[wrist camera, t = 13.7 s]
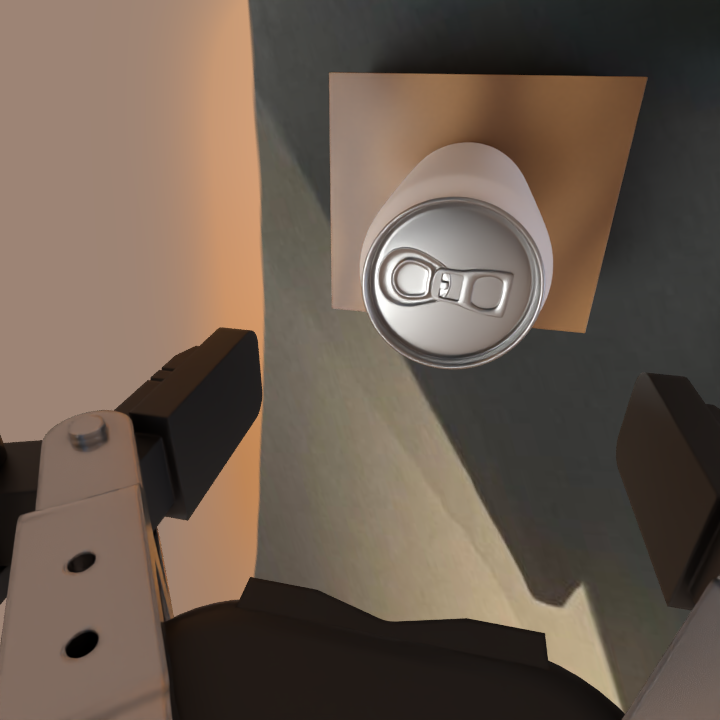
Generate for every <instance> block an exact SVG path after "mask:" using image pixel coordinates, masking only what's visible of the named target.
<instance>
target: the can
mask: <svg viewBox="0 0 720 720" xmlns="http://www.w3.org/2000/svg"><path fill="white" fill-rule="evenodd" d="M552 275H553V253H552V247H551V242H550V238H549V235H548V232H547V229H546V226H545V223H544V221H543V218H542V216H541V214H540V211H539V209H538V207H537V204H536V202H535V200H534V197H533V195H532V193H531V191H530V188H529V186H528V184H527V182H526V180H525V178H524V176H523V174H522V173H521V171H520V170H519V168H518V167H517V165H516V164H515V163H514V162H513V161H512V160H511V159H510V158H509V157H508V156H506V155H505V154H504V153H502V152H501V151H499V150H497V149H495V148H493V147H491V146H488V145H484V144H480V143H473V142H463V143H455V144H451V145H448V146H445V147H442V148H440V149H438V150H436V151H434V152H432V153H431V154H429V155H428V156H426V157H425V158H424V159H423V160H422V161H421V162H420V163H418V165H417V166H416V167H415V168H414V169H413V170H412V171H411V172H410V173H409V175H408V176H407V177H406V178H405V179H404V181H403V182H402V183H401V184H400V185H399V187H398V188H397V189H396V190H395V192H394V193H393V194H392V195H391V196H390V198H389V199H388V200H387V201H386V203H385V204H384V205H383V207H382V208H381V209H380V211H379V212H378V214H377V215H376V217H375V218H374V220H373V222H372V224H371V225H370V227H369V230H368V232H367V234H366V237H365V240H364V243H363V247H362V251H361V258H360V279H361V285H362V295H363V300H364V305H365V308H366V311H367V314H368V316H369V318H370V320H371V322H372V324H373V326H374V327H375V329H376V330H377V332H378V333H379V335H380V336H381V337H382V338H383V339H384V340H385V341H386V342H387V343H388V344H389V345H390V346H391V347H392V348H393V349H395V350H396V351H397V352H399V353H400V354H402V355H403V356H405V357H407V358H409V359H411V360H413V361H415V362H417V363H420V364H423V365H426V366H430V367H435V368H441V369H465V368H471V367H476V366H480V365H483V364H486V363H488V362H491V361H493V360H495V359H497V358H499V357H501V356H503V355H504V354H506V353H507V352H509V351H510V350H511V349H513V348H514V347H515V346H516V345H517V344H518V343H519V342H520V341H521V340H522V339H523V338H524V337H525V336H526V335H527V334H528V332H529V331H530V329H531V328H532V326H533V325H534V323H535V321H536V319H537V317H538V315H539V313H540V311H541V309H542V307H543V305H544V303H545V301H546V299H547V296H548V293H549V290H550V286H551V282H552Z"/></svg>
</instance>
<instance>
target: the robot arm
mask: <svg viewBox="0 0 720 720" xmlns="http://www.w3.org/2000/svg"><path fill="white" fill-rule="evenodd" d="M258 350H259V349H258V340H257V336H256V334H255V332H253V331H250V330H241V329H231V328H219V329H217V330H216V331H215V332H214V333H213V334H212V335H211V336H210V337H209V338H208V339H206V340H205V341H204V342H203V344H201V345H200V346H195V347H192V348H190V349H188V350H186V351H184V352H182V353H180V354H178V355H176V356H174V357H173V358H172V359H171V360H170V361H169V362H168V363H166V364H165V365H164V366H163V367H162V370H159V371H158V372H156V373H155V374H154V375H153V376H152V377H151V380H147V382H145V383H144V384H143V385H142V386H141V387H140V388H138V389H137V390H136V391H135V392H134V393H133V394H132V395H131V396H130V397H129V398H127V399H126V400H125V401H124V402H123V403H122V404H121V405H119V406H118V407H117V408H116V409H115V410H114V411H111V410H99V411H91V412H86V413H82V414H79V415H77V416H73V417H71V418H68V419H66V420H64V421H62V422H61V423H59V424H57V425H56V426H54V427H53V428H52V429H51V430H50V431H49V432H48V433H47V434H46V435H45V437H44V439H43V440H40V441H26V442H12V443H3V441H2V438H1V435H0V604H1V603H2V602H3V601H4V600H5V598H6V597H7V600H6V607H5V615H4V623H3V629H2V637H1V645H0V720H720V409H719V408H717V407H716V406H714V405H710V404H705V402H704V401H703V400H702V398H701V397H700V395H699V394H698V393H697V391H696V390H695V388H694V387H693V385H692V384H691V383H690V381H689V380H688V379H687V378H686V377H682V376H673V375H663V374H654V373H641V374H640V375H639V376H638V378H637V380H636V382H635V385H634V388H633V391H632V394H631V398H630V401H629V404H628V407H627V410H626V414H625V417H624V420H623V423H622V426H621V430H620V433H619V436H618V440H617V447H616V460H617V466H618V470H619V472H620V475H621V478H622V481H623V483H624V486H625V489H626V492H627V495H628V497H629V500H630V503H631V506H632V509H633V511H634V514H635V517H636V520H637V523H638V525H639V528H640V531H641V534H642V536H643V539H644V542H645V545H646V548H647V550H648V553H649V556H650V559H651V562H652V564H653V567H654V570H655V573H656V576H657V578H658V581H659V584H660V587H661V590H662V592H663V595H664V598H665V601H666V603H667V606H669V607H675V608H681V609H686V610H692V611H691V613H690V614H689V616H688V617H687V619H686V620H685V622H684V623H683V625H682V627H681V628H680V630H679V631H678V633H677V634H676V636H675V637H674V639H673V641H672V642H671V644H670V645H669V647H668V648H667V650H666V651H665V653H664V655H663V656H662V658H661V659H660V661H659V662H658V664H657V665H656V667H655V669H654V670H653V672H652V673H651V675H650V676H649V678H648V680H647V681H646V683H645V684H644V686H643V687H642V689H641V690H640V692H639V694H638V695H637V697H636V698H635V700H634V701H633V703H632V704H631V706H630V708H629V709H628V711H627V712H626V714H624V713H623V712H622V711H621V710H620V709H619V708H618V707H617V706H616V705H615V704H614V703H613V702H612V701H610V700H609V699H608V698H607V697H606V696H604V695H603V694H602V693H601V692H600V691H598V690H597V689H596V688H594V687H593V686H591V685H590V684H588V683H587V682H586V681H584V680H583V679H581V678H580V677H578V676H577V675H575V674H573V673H571V672H570V671H568V670H566V669H564V668H563V667H561V666H559V665H557V664H555V663H552V662H550V661H548V656H547V647H546V639H545V633H541V632H536V631H530V630H525V629H520V628H515V627H509V626H504V625H499V624H494V623H488V622H483V621H478V620H473V619H467V618H465V619H443V620H421V621H399V622H391V621H385V620H382V619H379V618H377V617H375V616H373V615H371V614H369V613H366V612H364V611H362V610H360V609H358V608H356V607H353V606H351V605H349V604H347V603H345V602H342V601H340V600H338V599H336V598H334V597H332V596H329V595H327V594H325V593H323V592H321V591H319V590H315V589H310V588H305V587H300V586H294V585H289V584H284V583H279V582H273V581H268V580H263V579H258V578H252V577H250V578H249V581H248V583H247V585H246V587H245V589H244V591H243V594H242V596H241V598H240V600H230V601H224V602H218V603H213V604H209V605H206V606H202V607H199V608H195V609H193V610H190V611H188V612H185V613H182V614H180V615H178V616H176V617H174V615H173V610H172V604H171V599H170V593H169V588H168V582H167V576H166V571H165V565H164V560H163V554H162V548H161V543H160V537H159V533H158V529H157V526H158V524H159V523H160V522H161V520H162V519H163V518H164V517H171V518H177V519H182V520H189V518H190V517H191V515H192V514H193V512H194V511H195V509H196V508H197V506H198V505H199V503H200V502H201V500H202V499H203V497H204V495H205V494H206V493H207V491H208V490H209V488H210V487H211V485H212V484H213V482H214V481H215V479H216V478H217V476H218V475H219V473H220V472H221V470H222V469H223V467H224V466H225V464H226V463H227V461H228V460H229V458H230V457H231V455H232V454H233V452H234V451H235V449H236V448H237V446H238V445H239V443H240V442H241V440H242V439H243V437H244V436H245V434H246V433H247V431H248V430H249V428H250V427H251V425H252V424H253V422H254V421H255V419H256V418H257V416H258V414H259V411H260V407H261V402H262V383H261V372H260V361H259V351H258Z"/></svg>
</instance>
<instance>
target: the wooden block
mask: <svg viewBox="0 0 720 720" xmlns="http://www.w3.org/2000/svg"><path fill="white" fill-rule="evenodd" d="M647 78H648V77H623V76H553V75H484V74H415V73H346V72H329V116H330V203H331V291H332V309H343V310H353V311H363V312H367V311H366V308H365V305H364V300H363V295H362V285H361V279H360V258H361V251H362V247H363V243H364V240H365V237H366V234H367V232H368V230H369V227H370V225H371V224H372V222H373V220H374V218H375V217H376V215H377V214H378V212H379V211H380V209H381V208H382V207H383V205H384V204H385V203H386V201H387V200H388V199H389V198H390V196H391V195H392V194H393V193H394V192H395V190H396V189H397V188H398V187H399V185H400V184H401V183H402V182H403V181H404V179H405V178H406V177H407V176H408V175H409V173H410V172H411V171H412V170H413V169H414V168H415V167H416V166H417V165H418V163H420V162H421V161H422V160H423V159H424V158H425V157H426V156H428V155H429V154H431V153H432V152H434V151H436V150H438V149H440V148H442V147H445V146H448V145H451V144H455V143H463V142H473V143H480V144H484V145H488V146H491V147H493V148H495V149H497V150H499V151H501V152H502V153H504V154H505V155H506V156H508V157H509V158H510V159H511V160H512V161H513V162H514V163H515V164H516V165H517V167H518V168H519V170H520V171H521V173H522V174H523V176H524V178H525V180H526V182H527V184H528V186H529V188H530V191H531V193H532V195H533V197H534V200H535V202H536V204H537V207H538V209H539V211H540V214H541V216H542V218H543V221H544V223H545V226H546V229H547V232H548V235H549V238H550V242H551V247H552V253H553V275H552V282H551V286H550V290H549V293H548V296H547V299H546V301H545V303H544V305H543V307H542V309H541V311H540V313H539V315H538V317H537V319H536V321H535V323H534V325H533V326H532V328H539V329H549V330H559V331H570V332H580V333H585V330H586V326H587V322H588V318H589V314H590V310H591V306H592V302H593V298H594V294H595V290H596V286H597V282H598V278H599V273H600V269H601V265H602V261H603V257H604V253H605V249H606V245H607V241H608V237H609V233H610V229H611V225H612V221H613V217H614V212H615V208H616V204H617V200H618V196H619V192H620V188H621V184H622V180H623V176H624V172H625V168H626V164H627V160H628V155H629V151H630V147H631V143H632V139H633V135H634V131H635V127H636V123H637V119H638V115H639V111H640V107H641V103H642V99H643V94H644V90H645V86H646V82H647Z"/></svg>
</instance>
